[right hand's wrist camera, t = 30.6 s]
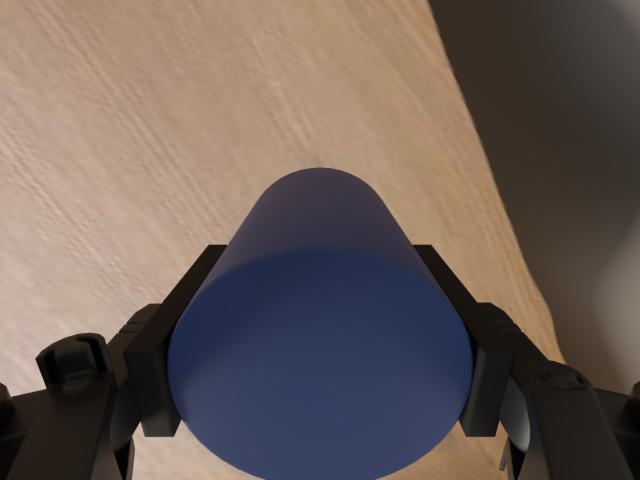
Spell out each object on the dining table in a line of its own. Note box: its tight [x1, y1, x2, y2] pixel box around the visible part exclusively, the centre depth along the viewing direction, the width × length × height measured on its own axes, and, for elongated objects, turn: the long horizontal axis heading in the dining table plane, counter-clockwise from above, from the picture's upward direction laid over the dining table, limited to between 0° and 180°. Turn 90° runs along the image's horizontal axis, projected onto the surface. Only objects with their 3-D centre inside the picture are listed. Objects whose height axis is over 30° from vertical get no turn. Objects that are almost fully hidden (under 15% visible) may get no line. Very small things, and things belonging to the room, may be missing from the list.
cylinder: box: [167, 168, 473, 480], centre depth 13 cm, size 8×8×10 cm
